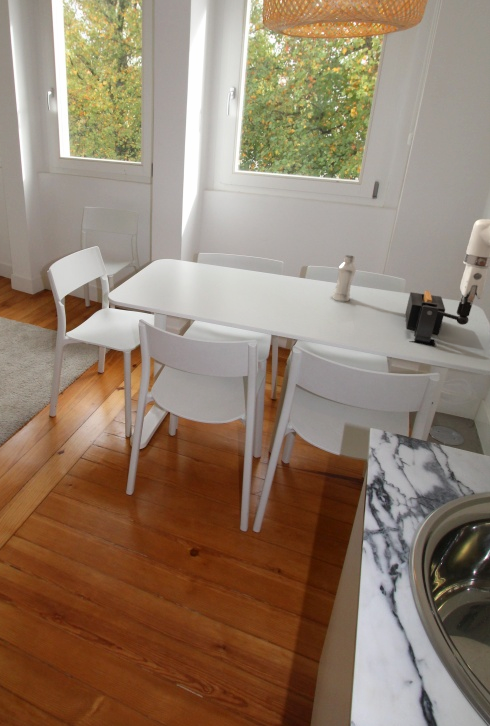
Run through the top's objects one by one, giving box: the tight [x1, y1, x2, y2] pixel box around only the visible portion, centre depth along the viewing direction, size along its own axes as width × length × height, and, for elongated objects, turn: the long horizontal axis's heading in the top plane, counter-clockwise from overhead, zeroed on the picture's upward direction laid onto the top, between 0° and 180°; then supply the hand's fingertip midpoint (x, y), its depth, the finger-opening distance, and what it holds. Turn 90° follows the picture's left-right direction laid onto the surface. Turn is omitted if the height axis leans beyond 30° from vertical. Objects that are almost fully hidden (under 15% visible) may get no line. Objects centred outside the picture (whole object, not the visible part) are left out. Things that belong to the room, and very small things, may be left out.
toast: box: [423, 290, 432, 303], centre depth 167 cm, size 2×10×10 cm, turn 155°
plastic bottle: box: [332, 254, 356, 302], centre depth 188 cm, size 6×7×20 cm
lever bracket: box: [408, 301, 438, 348], centre depth 156 cm, size 8×8×14 cm
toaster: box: [404, 292, 446, 336], centre depth 168 cm, size 10×14×11 cm
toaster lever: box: [425, 305, 470, 326], centre depth 153 cm, size 13×3×3 cm, turn 65°
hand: (462, 314), depth 151 cm, fingers closed
